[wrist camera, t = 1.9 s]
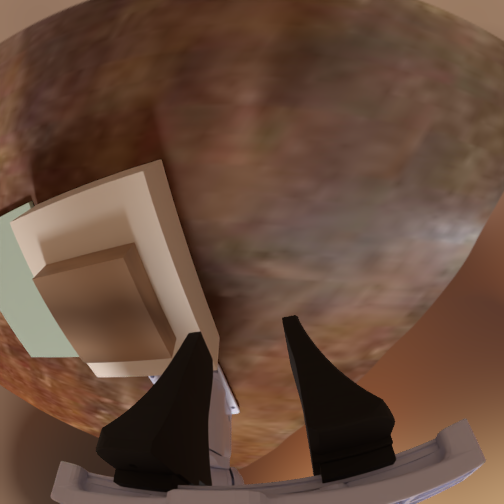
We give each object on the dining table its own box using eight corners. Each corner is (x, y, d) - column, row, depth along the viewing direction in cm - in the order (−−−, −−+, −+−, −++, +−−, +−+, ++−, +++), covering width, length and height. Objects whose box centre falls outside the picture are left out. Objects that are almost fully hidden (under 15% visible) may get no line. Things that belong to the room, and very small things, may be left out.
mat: (107, 352, 27) (106, 355, 26) (33, 354, 28) (31, 357, 27) (32, 200, 19) (28, 202, 19) (-33, 235, 20) (-36, 237, 20)
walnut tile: (176, 338, 21) (171, 358, 19) (92, 346, 21) (84, 363, 19) (134, 242, 17) (123, 257, 15) (45, 264, 18) (32, 279, 16)
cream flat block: (219, 336, 26) (217, 370, 22) (109, 348, 27) (97, 377, 23) (161, 159, 19) (143, 171, 15) (37, 204, 19) (9, 222, 16)
